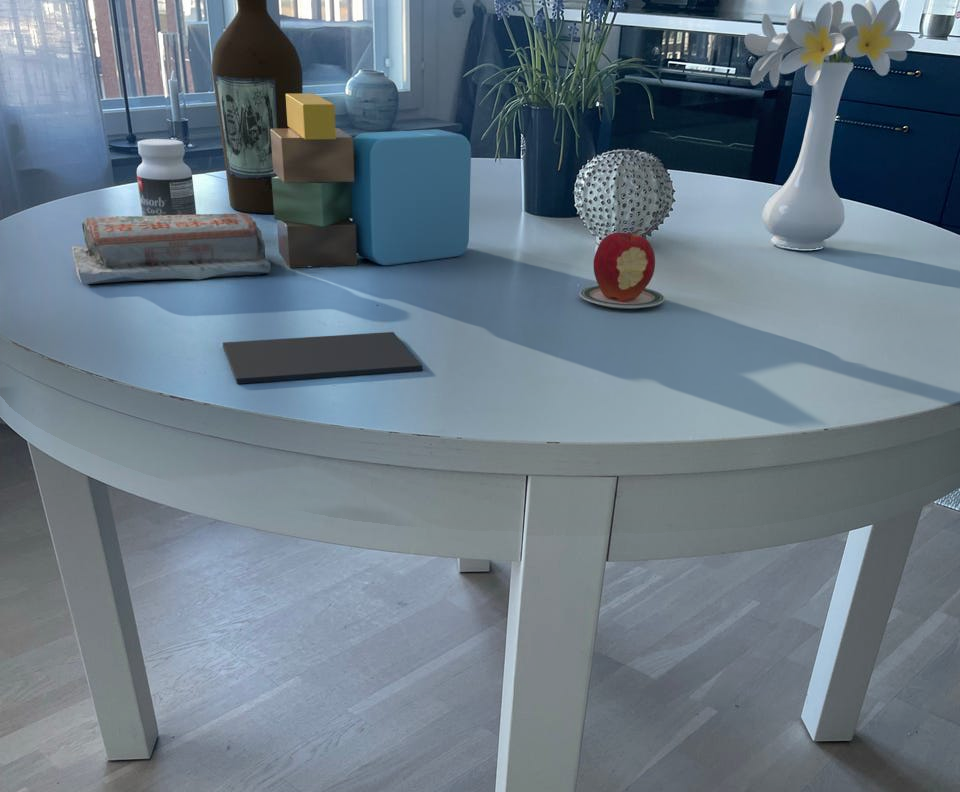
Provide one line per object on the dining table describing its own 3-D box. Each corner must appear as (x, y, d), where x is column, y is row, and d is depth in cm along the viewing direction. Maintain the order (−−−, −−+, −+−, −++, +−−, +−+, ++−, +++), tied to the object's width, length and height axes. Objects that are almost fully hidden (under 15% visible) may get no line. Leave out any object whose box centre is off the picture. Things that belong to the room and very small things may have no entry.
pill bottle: (134, 241, 111) (120, 141, 106) (175, 233, 115) (163, 136, 110) (170, 249, 108) (157, 147, 103) (210, 241, 112) (199, 142, 107)
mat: (237, 384, 74) (236, 378, 73) (222, 347, 81) (222, 342, 81) (422, 370, 78) (422, 365, 77) (393, 336, 85) (393, 331, 85)
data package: (446, 247, 113) (448, 128, 107) (469, 255, 110) (472, 133, 104) (352, 258, 108) (348, 133, 101) (373, 267, 104) (370, 139, 98)
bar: (304, 139, 96) (302, 104, 94) (287, 126, 104) (285, 93, 102) (336, 139, 97) (334, 104, 95) (316, 126, 105) (314, 93, 103)
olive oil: (245, 197, 135) (225, -28, 121) (321, 202, 133) (309, -25, 120) (211, 211, 126) (185, -29, 112) (292, 217, 124) (276, -26, 111)
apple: (680, 303, 97) (690, 230, 93) (628, 317, 92) (637, 242, 88) (614, 286, 101) (621, 216, 98) (562, 299, 96) (567, 226, 93)
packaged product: (248, 205, 105) (268, 224, 98) (252, 253, 108) (272, 276, 100) (64, 211, 100) (70, 232, 92) (73, 262, 102) (79, 287, 94)
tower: (284, 270, 102) (274, 138, 96) (271, 251, 109) (262, 127, 103) (365, 266, 105) (361, 138, 98) (348, 248, 111) (343, 127, 105)
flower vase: (745, 226, 129) (783, -6, 116) (887, 250, 120) (946, 0, 106) (694, 241, 121) (729, -8, 107) (842, 268, 111) (901, -2, 98)
